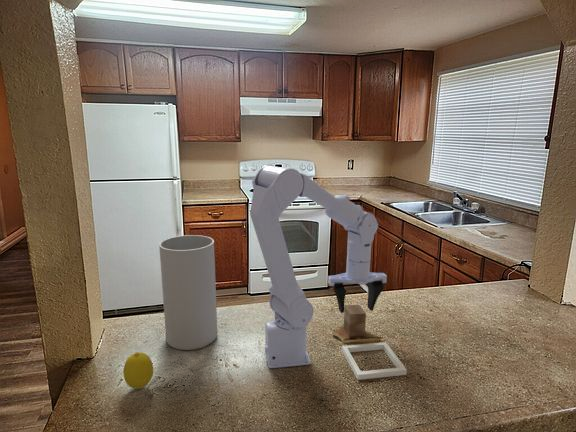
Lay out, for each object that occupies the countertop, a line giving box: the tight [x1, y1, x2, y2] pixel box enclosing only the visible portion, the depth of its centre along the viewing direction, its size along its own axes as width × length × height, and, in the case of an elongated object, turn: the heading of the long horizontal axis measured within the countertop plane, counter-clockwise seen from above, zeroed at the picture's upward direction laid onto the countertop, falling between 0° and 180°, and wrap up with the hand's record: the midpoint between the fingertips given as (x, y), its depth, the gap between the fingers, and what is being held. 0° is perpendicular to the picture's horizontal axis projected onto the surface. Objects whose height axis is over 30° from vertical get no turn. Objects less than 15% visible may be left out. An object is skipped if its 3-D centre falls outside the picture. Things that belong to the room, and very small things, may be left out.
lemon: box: [122, 351, 154, 390], centre depth 77 cm, size 6×6×8 cm
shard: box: [331, 324, 383, 344], centre depth 96 cm, size 11×8×2 cm
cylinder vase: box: [158, 234, 218, 351], centre depth 93 cm, size 12×12×25 cm
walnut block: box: [343, 304, 367, 337], centre depth 97 cm, size 4×5×6 cm
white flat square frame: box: [341, 341, 408, 381], centre depth 86 cm, size 11×11×1 cm
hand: (355, 310), depth 97 cm, fingers open, 7 cm apart
